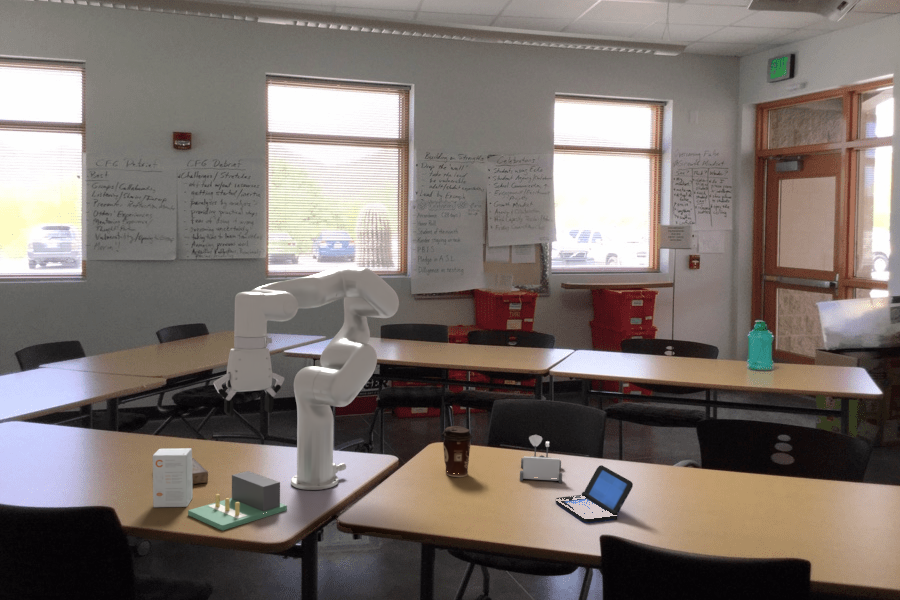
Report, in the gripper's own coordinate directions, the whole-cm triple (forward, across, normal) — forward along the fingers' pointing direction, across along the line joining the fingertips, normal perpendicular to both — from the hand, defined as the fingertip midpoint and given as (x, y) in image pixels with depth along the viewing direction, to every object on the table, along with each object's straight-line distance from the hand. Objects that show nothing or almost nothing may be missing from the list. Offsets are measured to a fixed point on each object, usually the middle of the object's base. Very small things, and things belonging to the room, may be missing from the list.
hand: (249, 413), depth 187 cm
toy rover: (+22, -81, +15) cm, 86 cm away
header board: (+23, +3, +2) cm, 24 cm away
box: (+24, +7, -32) cm, 41 cm away
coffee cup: (+22, -60, +4) cm, 64 cm away
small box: (+24, +14, -13) cm, 30 cm away
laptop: (+23, -72, +45) cm, 88 cm away
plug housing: (+22, -2, 0) cm, 22 cm away
